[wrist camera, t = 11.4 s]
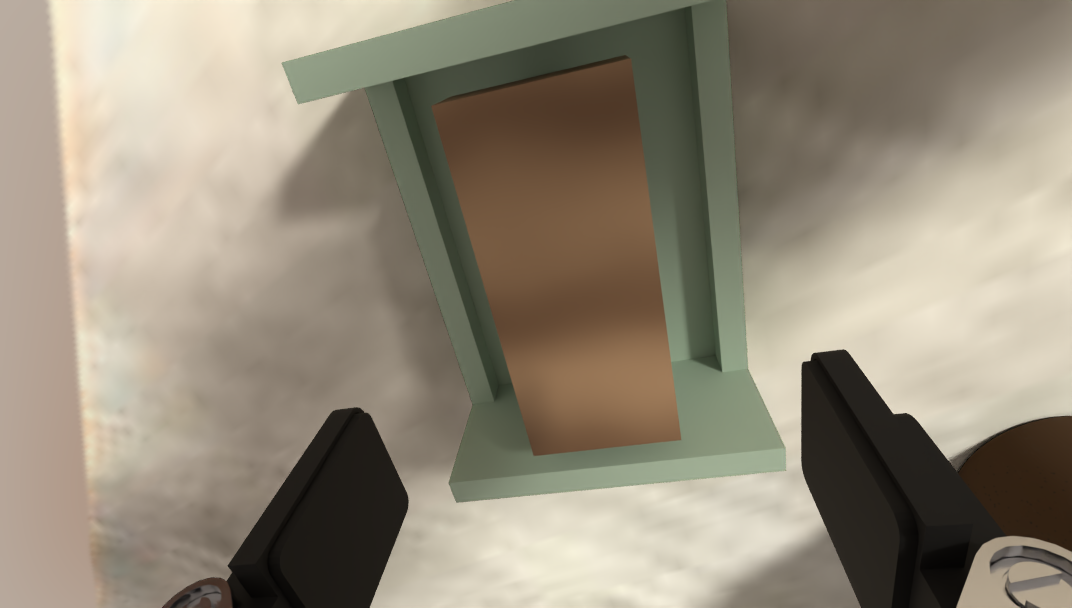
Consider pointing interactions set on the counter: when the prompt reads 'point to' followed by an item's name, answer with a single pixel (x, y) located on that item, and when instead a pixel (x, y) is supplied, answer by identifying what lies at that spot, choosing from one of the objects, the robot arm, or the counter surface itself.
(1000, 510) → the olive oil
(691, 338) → the frame
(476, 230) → the board
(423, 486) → the counter surface
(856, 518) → the robot arm
